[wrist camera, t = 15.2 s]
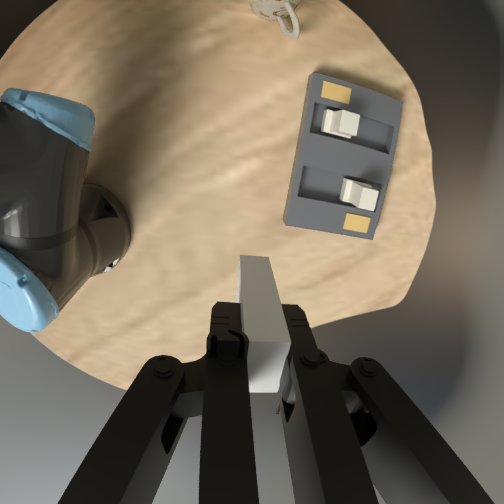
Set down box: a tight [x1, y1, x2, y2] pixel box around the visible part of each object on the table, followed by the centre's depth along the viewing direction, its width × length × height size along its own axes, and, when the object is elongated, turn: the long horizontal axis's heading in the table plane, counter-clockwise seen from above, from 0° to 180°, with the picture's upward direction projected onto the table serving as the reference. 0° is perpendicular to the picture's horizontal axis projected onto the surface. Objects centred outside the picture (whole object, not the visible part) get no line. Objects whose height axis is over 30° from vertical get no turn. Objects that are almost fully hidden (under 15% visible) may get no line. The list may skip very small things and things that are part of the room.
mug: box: [249, 0, 301, 39], centre depth 24 cm, size 8×13×10 cm, turn 22°
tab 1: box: [320, 109, 360, 138], centre depth 32 cm, size 4×3×6 cm
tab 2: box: [339, 178, 379, 211], centre depth 36 cm, size 4×3×6 cm
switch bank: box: [283, 72, 403, 240], centre depth 36 cm, size 14×22×3 cm, turn 171°
